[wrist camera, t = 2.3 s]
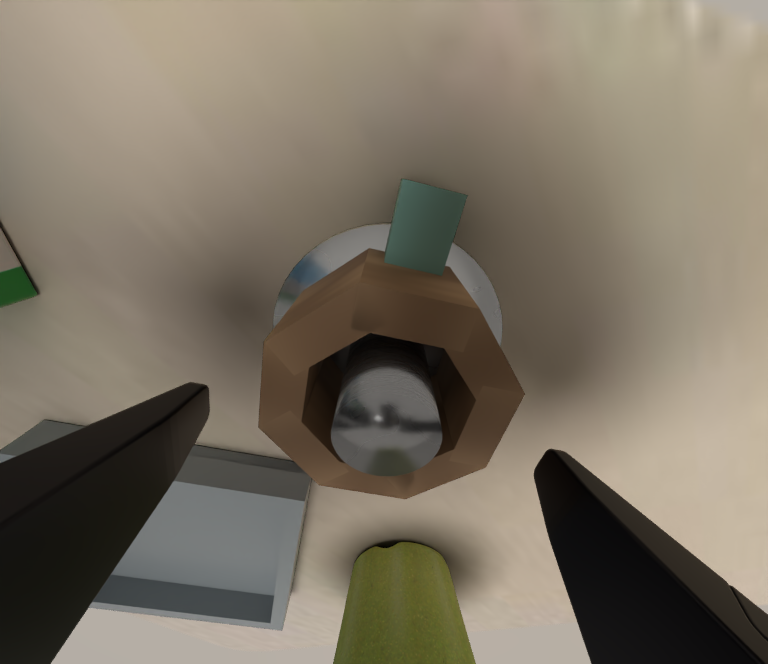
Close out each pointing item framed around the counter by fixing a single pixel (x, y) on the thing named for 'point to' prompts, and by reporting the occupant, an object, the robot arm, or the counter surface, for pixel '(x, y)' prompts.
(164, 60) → the counter surface
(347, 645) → the plant pot
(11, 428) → the counter surface
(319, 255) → the grey peg stand
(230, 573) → the tray
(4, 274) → the milk carton
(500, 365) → the ring
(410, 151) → the counter surface
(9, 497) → the robot arm
